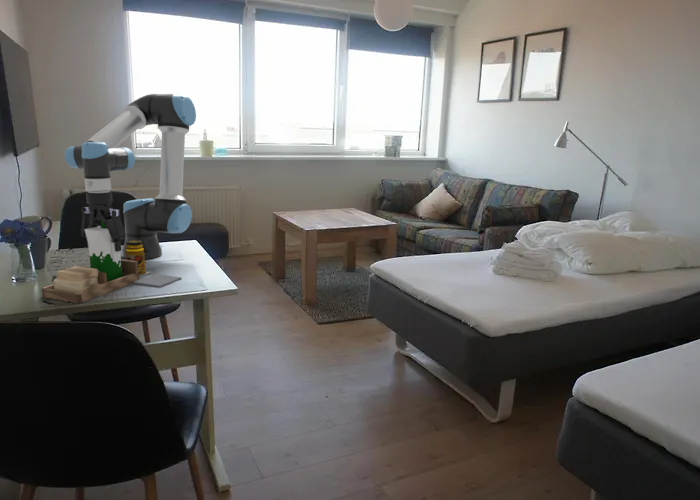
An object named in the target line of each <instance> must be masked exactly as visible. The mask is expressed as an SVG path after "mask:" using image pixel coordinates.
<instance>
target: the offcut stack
mask: <svg viewBox="0 0 700 500" xmlns="http://www.w3.org/2000/svg"><path fill="white" fill-rule="evenodd" d="M56 273H57V278H55V279H53V284H54V290H59V291H65V292H72V293H77V292H80V291H83V290H86V289H88V288H91V287H94V286H97V285H100V284H99V283H98V277H97V276H98V269H95V268H91V267H87V266H86V267H85V266H79V265H78V266H77V265H74V266H70V267H67V268H64V269H61V270H58V271H56Z"/></svg>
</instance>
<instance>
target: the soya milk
mask: <svg viewBox="0 0 700 500" xmlns="http://www.w3.org/2000/svg"><path fill="white" fill-rule="evenodd" d="M84 230H85V233H86V237H87V239H86V241H87V240H88V247H89V248H88V247H87V248H88V254H89V255H88V256H89V264H90V268H95V269H98V272H102V273H106V275H107V282H109V281H112V280H115V279H118V278H121V277H123V273H122V267H121V260H119V261H116V262H113V258H112V247H111V242H112V241H113V240H112V238H111V235H110V233H109V230H108V229H107V227H106V225H105V224H104V223H103V221H101V220H100V225H97V227H93V228H89V229H84ZM116 238H117V237H116Z"/></svg>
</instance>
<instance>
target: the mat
mask: <svg viewBox="0 0 700 500" xmlns="http://www.w3.org/2000/svg"><path fill="white" fill-rule="evenodd" d="M181 280H182V276H175V275H166V274H161V273H154V274H151V275H148V276H146V277H143V278H141V279H140V278H139V280H137V281H134V282H133V284H135V285H142V286H146V287H147V286H148V287H153V286H154V287H155V288H163V287H165V286H167V285H170V284H173V283H175V282H177V281H181Z"/></svg>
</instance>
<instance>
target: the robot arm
mask: <svg viewBox="0 0 700 500" xmlns="http://www.w3.org/2000/svg"><path fill="white" fill-rule="evenodd" d="M196 120H197V112H196V107H195V104H194V103H193V101H192V99H191V98H190V97H189V96H188V95H186V94H180V93H179V94H178V93H160V94H159V93H151V94H146V95H143V96H141V97H139V98H137V99H135V100H134V101H132V102H130V103H129V104H128V105H126V106H125V107H124V108H123V109H122V113H121V114H119V115H118V116H117V117H116V118H115V119H113V120H112V121H110V122H109V123H108V124H107V125H105V126H104V127H103V128H101V130H99V131H97V132H96V133H95V134H93V136H91V137H90V138H88V139H87V140H86V141H85V142H83V143H82V144H80V145H73V146H71V145H70V146H68V147H67V148H66V149H65V150H64V151H65V152H64V161H65V163H66V164H67V165H68V166H69V167H70V168H72V169H79V170H83V176H84V187H85V191H86V193H85V197H86V199H85V200H86V204H88V206H83V207H81V209H80V211H81V227H80V236H81V237H84V238H85V239H86V245H87V246H86V247H87V249H89V247H88V240H87V237H86V233H85V230H84V229H89V228H93V227H98V226H99V222H101V221H103V223H104V224H105V225H106V227H107V229H108V230H109V233H110V235H111V238H112V240H113V241H112V242H111V247H112V258H113V262H116V261H119V260H121V259H126V249H127V247H126V246H127V244H126V242H127V241H131V240H141V241H142V245H143V246H142V247H143V248H144V255H145V260H150V259H155V258H158V257H160V256H162V255H163V252H162V251H163V250H162V247H161V244H160V242H159V239H158V236H157V232H158V233H167V234H181V233H183V232H185V231H186V230H188V228H189V227H190V226H191V223H192V222H191V221H192V218H193V213H192V210H191V207H190V205H188V204H187V199H186V198H185V197H184V195H183V192H184V191H183V187H184V170H185V169H184V166H185V165H184V164H185V143H186V141H185V139H186V134H188V133H189V132H190V127H191V126H192V125H195V122H196ZM150 125H152V126H153V125H157V129H159V132H160V133H161V146H160V148H161V149H160V168H159V169H160V172H159V173H160V176H159V193H158V195H156V196H155V198H153V197H152V198H151V197H150V198H148V197H147V198H141V199H140V198H139V199H133V200H128V201H125V202H123V211H122V213H123V221H124V225H123V222H122V218H121V210H120V209H115V208H114V209H113V206H112V203H113V192H112V191H111V190H112V182H111V172H115V171H126V170H129V169H132V168H133V166H134V165H135V163H136V157H135V154H134V151H132V150H131V149H130V148H129V147H123V146H119V145H121V143H123V142H124V141H125V140H126V139H127V138H129V137H130V136H131V135H133V133H135V132H136V131H138V130H142V129H144V128H145V127H146V126H150ZM116 237H117V238H116ZM121 241H123V246H122V243H121ZM122 247H123V248H122ZM121 253H122V254H121ZM121 257H122V258H121Z"/></svg>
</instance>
